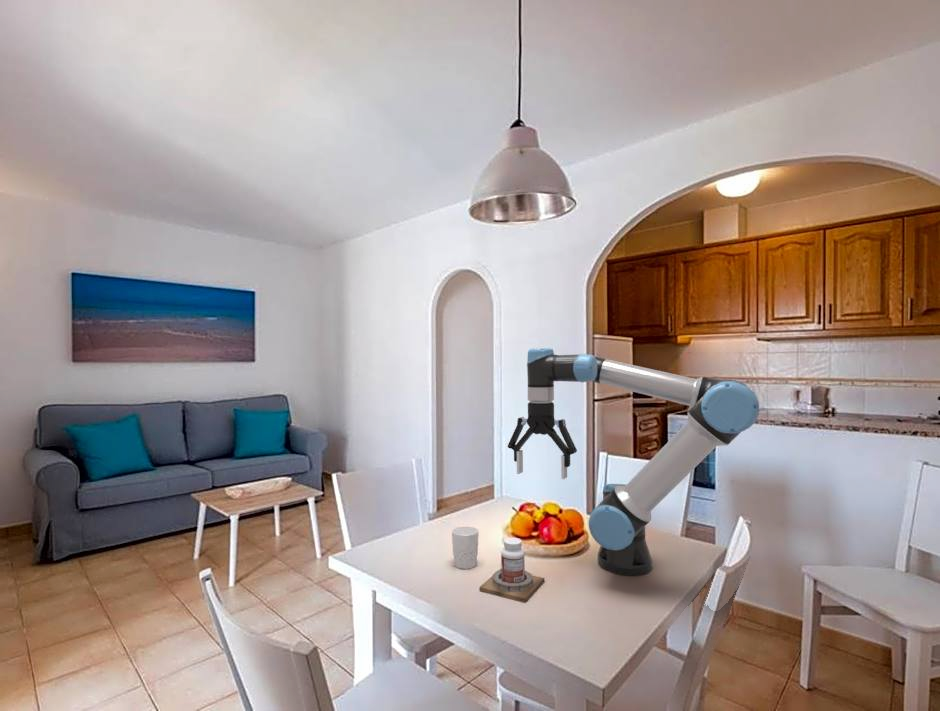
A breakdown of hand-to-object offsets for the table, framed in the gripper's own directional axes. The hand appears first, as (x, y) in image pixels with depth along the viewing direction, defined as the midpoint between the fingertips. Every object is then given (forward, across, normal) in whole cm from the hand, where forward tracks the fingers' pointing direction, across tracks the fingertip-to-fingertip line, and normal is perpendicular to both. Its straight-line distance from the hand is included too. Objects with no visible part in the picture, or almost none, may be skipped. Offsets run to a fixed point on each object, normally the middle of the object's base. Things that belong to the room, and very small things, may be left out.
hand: (541, 475), depth 140 cm
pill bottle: (+26, +3, +14) cm, 29 cm away
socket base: (+27, +3, +14) cm, 30 cm away
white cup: (+27, +21, +8) cm, 35 cm away
